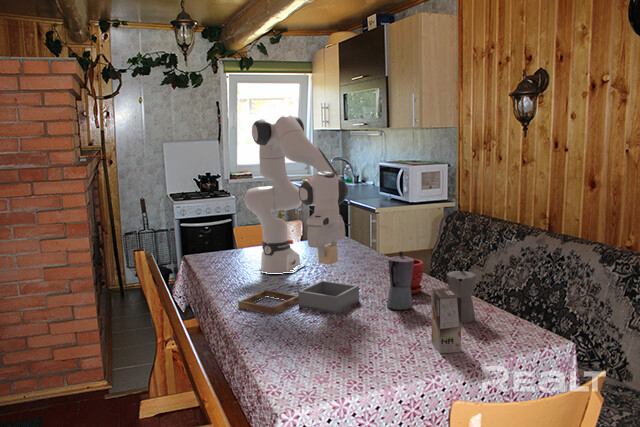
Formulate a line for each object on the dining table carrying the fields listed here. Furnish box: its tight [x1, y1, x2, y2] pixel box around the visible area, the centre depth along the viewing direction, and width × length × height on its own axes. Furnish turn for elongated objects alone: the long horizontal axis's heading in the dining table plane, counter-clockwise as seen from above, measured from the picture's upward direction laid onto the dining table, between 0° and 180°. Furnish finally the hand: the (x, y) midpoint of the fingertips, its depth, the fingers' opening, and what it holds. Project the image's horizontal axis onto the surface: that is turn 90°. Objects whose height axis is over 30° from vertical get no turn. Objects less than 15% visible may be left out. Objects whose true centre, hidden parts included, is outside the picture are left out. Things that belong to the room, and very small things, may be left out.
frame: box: [237, 289, 299, 316], centre depth 197 cm, size 16×16×2 cm
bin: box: [297, 280, 360, 315], centre depth 196 cm, size 16×16×6 cm
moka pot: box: [386, 251, 414, 311], centre depth 190 cm, size 10×15×20 cm, turn 155°
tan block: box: [317, 243, 339, 265], centre depth 194 cm, size 5×5×6 cm
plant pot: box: [410, 258, 424, 295], centre depth 209 cm, size 13×13×12 cm
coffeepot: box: [446, 265, 477, 324], centre depth 178 cm, size 15×9×18 cm, turn 162°
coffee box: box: [430, 288, 462, 354], centre depth 154 cm, size 9×6×16 cm
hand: (327, 255), depth 194 cm, fingers closed on tan block, 5 cm apart
